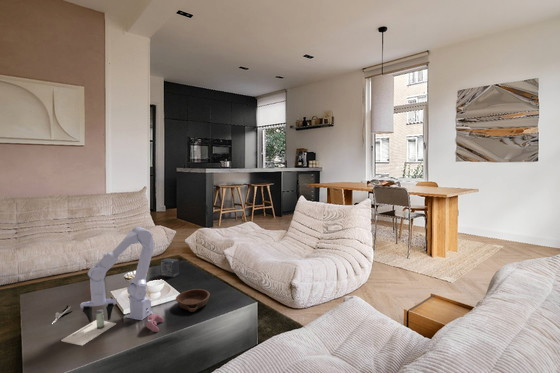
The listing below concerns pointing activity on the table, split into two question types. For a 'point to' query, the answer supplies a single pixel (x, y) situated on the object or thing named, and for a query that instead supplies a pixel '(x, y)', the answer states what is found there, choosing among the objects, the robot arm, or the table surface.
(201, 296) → the dish
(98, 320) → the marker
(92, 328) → the notepad
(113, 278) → the table surface
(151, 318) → the video game controller
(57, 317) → the scissors
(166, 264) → the small box
